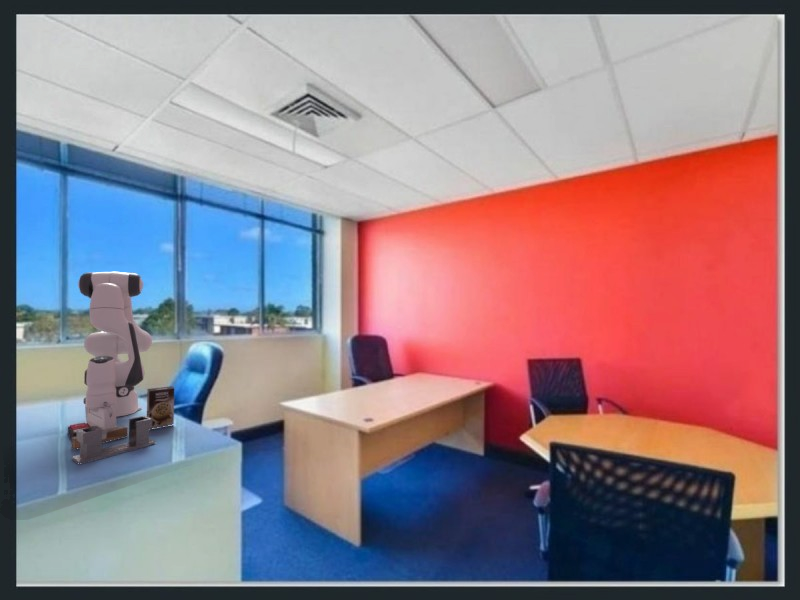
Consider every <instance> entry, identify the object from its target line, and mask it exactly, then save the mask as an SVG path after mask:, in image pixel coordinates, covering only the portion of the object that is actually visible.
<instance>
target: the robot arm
mask: <svg viewBox="0 0 800 600" xmlns="http://www.w3.org/2000/svg"><path fill="white" fill-rule="evenodd" d="M77 285H78V290H79V293H81V295H83V296H84V297H88V298H89V299H90V302H89V322H90V324H91V326H93V327H94V329H96V330H98V331H97V332H92V333H89V334H88V335H87V336H86V338H85V339H84V342H83V345H84V346H83V347H84V349H85V351H86V352H87V353H89V354H90V355H92V356H93V357H92V358H91V359H89V361H88V365H87V368H86V369H85V371H84V378H83V379H84V381H83V382H84V384H85V385H86V387H87V390H86V392H85V397H84V398H83V404H84V409H85V410H84V411H85V413H84V414H85V419H86V423H87V422H89V423H91V424H93V425H94V426H96V430H99V429H102V440H103V439H106V438H107V432H108V430H112V429H115V428H117V417H123V416H128V415H132V414H134V413H137V412H138V411H140V410H142V406H139V398H138V393H137V392H136V391H135V387H136V386H137V385H139V384H140V383H141V382H142V381H144V378H145V368H144V365H143V362H142V359H141V355H140V353H144V352H147V351H149V349H150V348H151V346H152V345H153V339H152V335H151V334H150V333H149V332H147V331H146V330H144V329H142V328H141V327H140V326H139V325H138V324H137V323H136V320H135V318H134V314H133V305H132V304H133V303H132V297H137V296H139V295H140V294H141V293H142V291H143V289H144V282H143V279H142V277H141V276H140V275H139V274H138V273H134V272H122V271H121V272H120V271H101V272H100V271H98V272H94V271H92V272H91V271H90V272H84V273H82V274H81V275H80V277H79V279H78V282H77ZM119 355H127V358H128V360H126V361H124V360H122V359H120V358H119Z"/></svg>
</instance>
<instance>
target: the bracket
mask: <svg viewBox="0 0 800 600" xmlns="http://www.w3.org/2000/svg"><path fill="white" fill-rule="evenodd" d="M151 428H152V418H149V417H147V415H142V416H138V417H132V418H129V419H128V442H124V443H120V444H116V445H112V446H108V447H104V448H103V443H102V429H99V430H96V426H93V427H88V428H84V429H79V430H77V441H78V442H80V449H79V454H76V455H73V456H71V457H72V458H71V460H72V459H73V460H72V461H74V460H75V461H76V462H77V463H79V464H78V465H81V464H80V463H83V464H85V463H84V462H87V463H89V462H88V461H91V460H94V461H96V460H95V459H98V460H100V459H99V458H102V459H105V458H109V457H112V455H113V456H116V455H120V454H123V452H124V453H127V452H126V451H128V452H131V451H134V449H135V450H139V449H141V448H146V447H148V445H150V446H152V445H151V444H154V445H156V441H155V440H154V439H152V438H150V430H149V429H151ZM145 446H146V447H145ZM138 448H139V449H138ZM130 450H131V451H130ZM119 453H120V454H119ZM108 456H109V457H108ZM104 457H105V458H104ZM75 461H74V462H75ZM76 462H75V463H76ZM91 462H92V461H91ZM77 463H76V464H77Z"/></svg>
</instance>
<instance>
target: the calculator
mask: <svg viewBox="0 0 800 600" xmlns="http://www.w3.org/2000/svg"><path fill="white" fill-rule="evenodd" d="M93 426H94V425H93V424H91V423H89V422H87V421H86V422H81V423H74V424H70V425H69V426H68V427H67V434H68V436H69V435H70V436H69V437H70V439H71V440H72V437H76V436H77V430H79V429H84V428H88V427H93Z"/></svg>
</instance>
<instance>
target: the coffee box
mask: <svg viewBox="0 0 800 600" xmlns="http://www.w3.org/2000/svg"><path fill="white" fill-rule="evenodd" d="M146 390H147V392H146V393H147V397H146V416H147V417H149V418H152V428H157V427H163V426H168V425H172V424H175V423H174V420H175V414H174V413H175V388H174V387H173V386H161V387H154V388H153V387H151V388H147V389H146ZM152 428H151V429H152Z"/></svg>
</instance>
